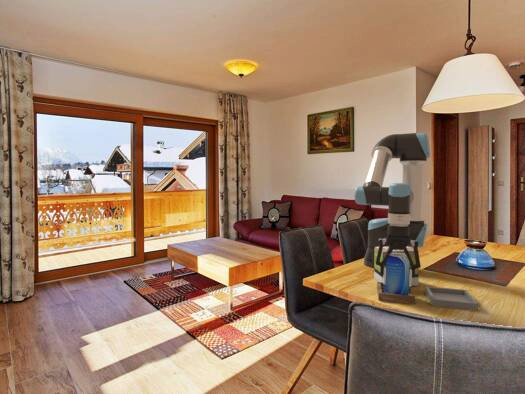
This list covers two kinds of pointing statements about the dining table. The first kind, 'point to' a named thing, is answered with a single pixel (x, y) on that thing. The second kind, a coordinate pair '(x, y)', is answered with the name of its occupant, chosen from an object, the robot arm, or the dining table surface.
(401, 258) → the beer can
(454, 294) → the tray
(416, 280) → the tea box
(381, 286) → the frame
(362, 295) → the dining table surface
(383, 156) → the robot arm
